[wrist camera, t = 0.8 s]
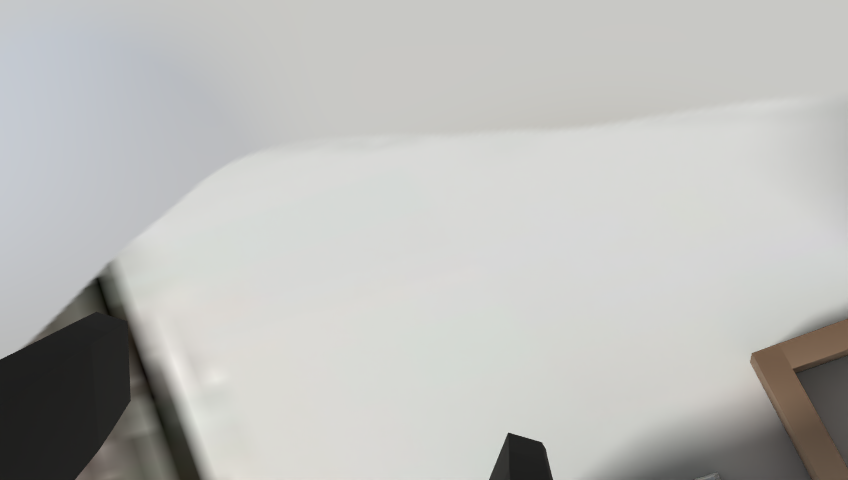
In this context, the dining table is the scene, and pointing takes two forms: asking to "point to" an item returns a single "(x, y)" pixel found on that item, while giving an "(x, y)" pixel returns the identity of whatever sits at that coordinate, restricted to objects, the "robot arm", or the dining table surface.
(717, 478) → the metal block
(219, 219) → the dining table surface
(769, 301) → the dining table surface
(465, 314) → the dining table surface
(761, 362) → the slot rack
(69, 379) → the robot arm
